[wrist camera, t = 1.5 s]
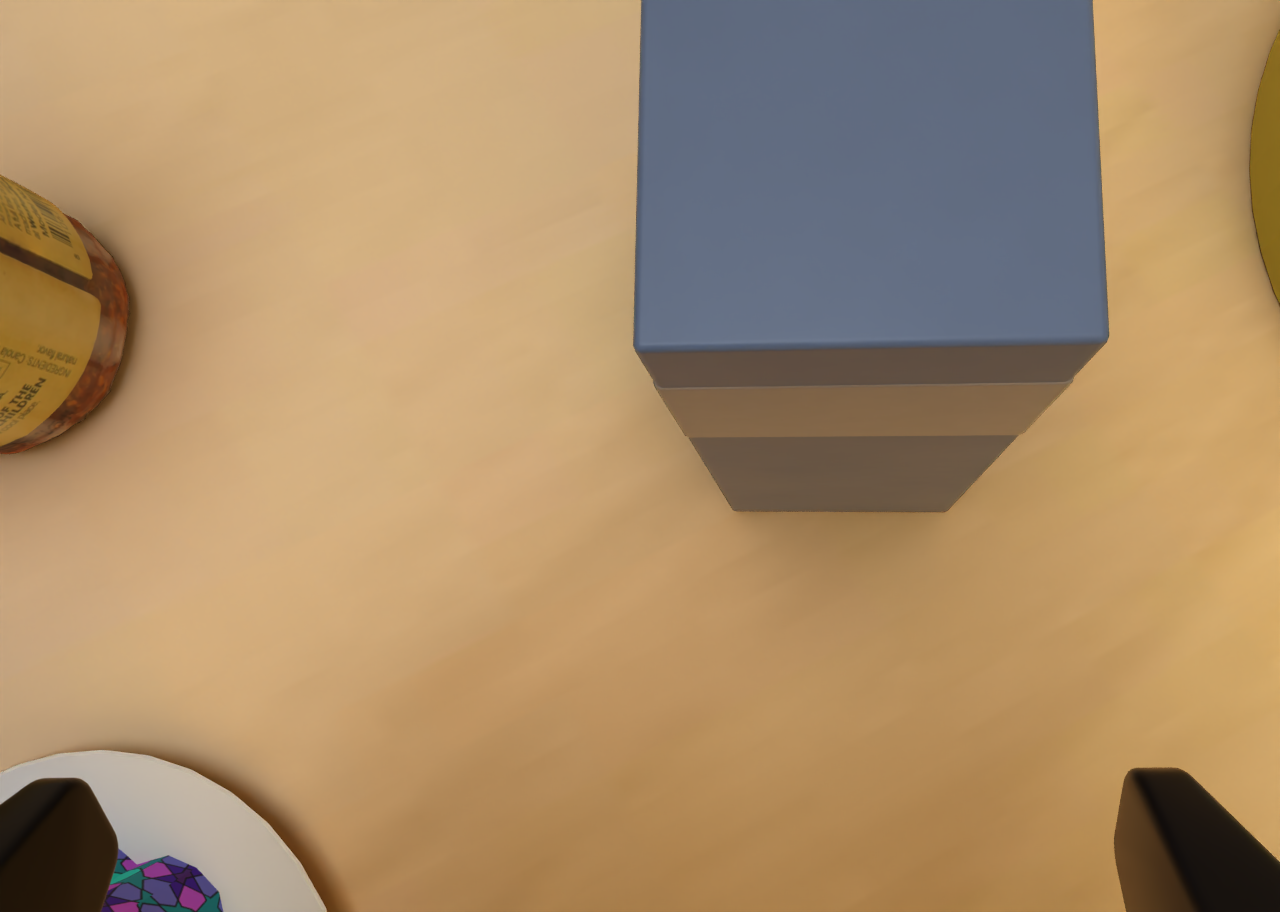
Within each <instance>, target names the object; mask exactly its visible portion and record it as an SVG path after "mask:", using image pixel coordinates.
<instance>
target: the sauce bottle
mask: <svg viewBox="0 0 1280 912" xmlns="http://www.w3.org/2000/svg"><path fill="white" fill-rule="evenodd" d="M128 316H129V297H128V294H127V290H126V287H125V282H124V280H123V278H122V275H121V272H120V270H119V268H118V267H117V265H116V264H115V262H114V259H113V257H112V256H111V255H110V254H109V253H108V252H107V251H106V250H105V249H104V248H103V246H102V245H101V244H100V243H99V242H98V241H97V240H96V239H95V237H94V236H93V235H92V234H91V233H90V232H88V231H87V230H86V229H85V228H84V227H83V226H82V224H81V223H80V222H78V221H77V220H75V219H73V218H71V217H69V216H67V215H65V214H64V213H62V212H61V211H60V210H59V208H57V207H56V206H55V205H53V204H52V203H51V202H49V201H48V200H46V199H44V198H43V197H41V196H39V195H37V194H36V193H34V192H32V191H30V190H29V189H27V188H25V187H23V186H21V185H19V184H17V183H15V182H13V181H11V180H9V179H7V178H5V177H4V176H2V175H0V454H12V453H19V452H22V451H25V450H27V449H30V448H32V447H34V446H36V445H39V444H41V443H43V442H46V441H48V440H50V439H52V438H54V437H57V436H59V435H61V434H62V433H63V432H64V431H66V430H68V429H69V428H70V427H71V426H72V425H74V424H76V423H79V422H80V421H81V420H83V419H85V417H86V415H87V413H89V412H91V411H92V410H93V409H94V408H95V407H97V406H98V404H99V403H100V402H101V401H102V400H103V399H104V398H105V397H106V396H107V394H108V393H109V392H110V391H111V385H112V382H113V380H114V378H115V375H116V373H117V370H118V368H119V365H120V362H121V359H122V354H123V350H124V343H125V339H126V333H127V321H128Z"/></svg>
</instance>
